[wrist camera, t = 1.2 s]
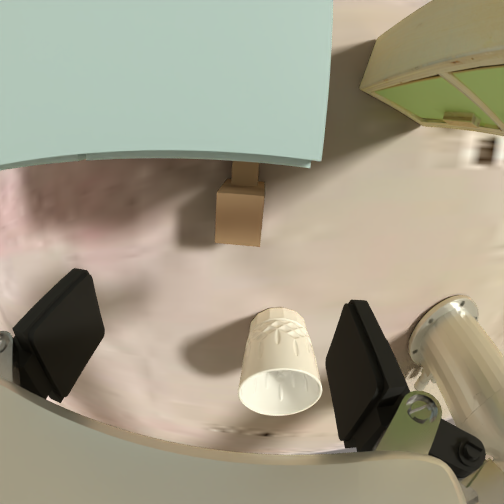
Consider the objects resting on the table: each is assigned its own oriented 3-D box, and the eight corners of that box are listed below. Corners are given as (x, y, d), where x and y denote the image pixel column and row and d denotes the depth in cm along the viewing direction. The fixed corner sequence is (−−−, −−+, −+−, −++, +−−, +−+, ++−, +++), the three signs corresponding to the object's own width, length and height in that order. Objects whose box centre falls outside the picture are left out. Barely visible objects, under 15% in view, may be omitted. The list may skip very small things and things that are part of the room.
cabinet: (281, 144, 24) (319, 171, 8) (119, 140, 24) (-29, 177, 8) (291, 37, 19) (330, -87, 3) (128, 42, 20) (-3, -9, 3)
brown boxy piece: (260, 222, 27) (259, 246, 22) (224, 219, 27) (214, 242, 22) (273, 87, 22) (275, 74, 16) (234, 85, 22) (225, 71, 16)
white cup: (284, 359, 35) (287, 422, 26) (232, 335, 33) (222, 400, 24) (323, 321, 32) (339, 385, 23) (269, 290, 30) (270, 356, 21)
